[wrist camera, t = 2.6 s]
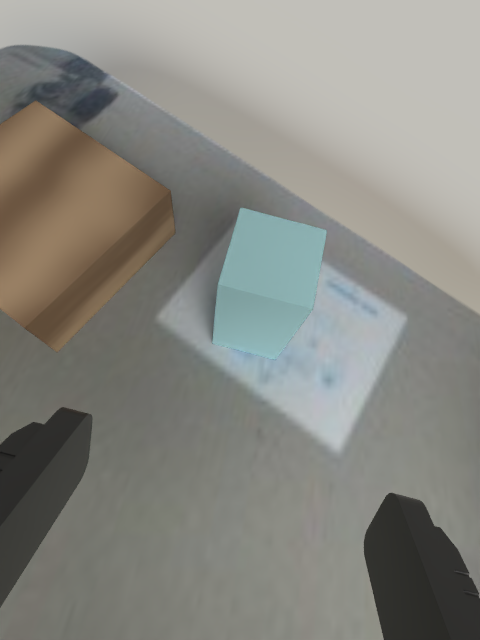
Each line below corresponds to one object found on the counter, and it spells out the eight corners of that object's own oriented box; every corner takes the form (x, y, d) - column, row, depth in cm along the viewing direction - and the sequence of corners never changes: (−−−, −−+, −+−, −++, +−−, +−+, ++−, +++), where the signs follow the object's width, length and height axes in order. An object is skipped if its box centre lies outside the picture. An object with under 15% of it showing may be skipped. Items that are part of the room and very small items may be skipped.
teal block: (287, 302, 26) (327, 230, 18) (275, 360, 25) (313, 309, 16) (228, 287, 26) (240, 207, 18) (212, 343, 25) (217, 284, 16)
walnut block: (175, 235, 28) (170, 190, 23) (59, 353, 24) (24, 328, 19) (61, 156, 30) (35, 100, 25) (-66, 254, 25) (-126, 208, 21)
